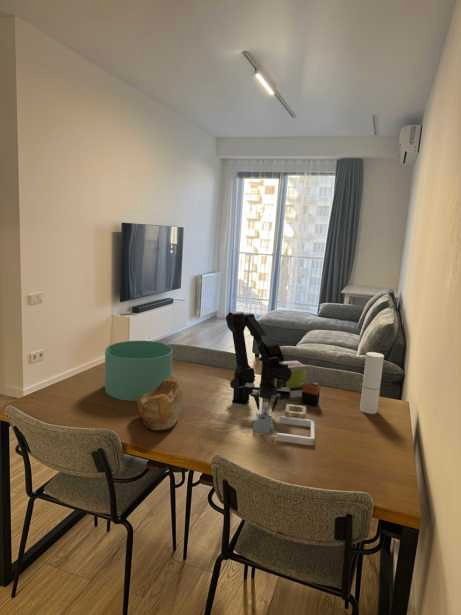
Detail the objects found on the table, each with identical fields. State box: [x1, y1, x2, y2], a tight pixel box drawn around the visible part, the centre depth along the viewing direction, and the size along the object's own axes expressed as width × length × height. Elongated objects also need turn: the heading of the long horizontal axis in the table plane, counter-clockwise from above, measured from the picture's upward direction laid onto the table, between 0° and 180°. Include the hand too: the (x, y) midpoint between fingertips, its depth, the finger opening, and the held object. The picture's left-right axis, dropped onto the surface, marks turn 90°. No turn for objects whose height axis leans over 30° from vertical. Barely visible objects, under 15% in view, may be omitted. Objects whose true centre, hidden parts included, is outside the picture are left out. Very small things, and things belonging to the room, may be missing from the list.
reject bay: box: [276, 415, 316, 447], centre depth 158 cm, size 13×16×2 cm
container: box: [104, 340, 174, 402], centre depth 191 cm, size 30×30×19 cm
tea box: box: [272, 360, 308, 400], centre depth 194 cm, size 15×10×15 cm, turn 108°
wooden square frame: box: [284, 403, 307, 419], centre depth 170 cm, size 8×8×4 cm
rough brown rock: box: [136, 375, 183, 431], centre depth 161 cm, size 23×17×15 cm
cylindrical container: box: [359, 351, 385, 415], centre depth 181 cm, size 7×7×25 cm
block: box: [252, 413, 273, 434], centre depth 159 cm, size 6×6×5 cm
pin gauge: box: [261, 398, 271, 416], centre depth 171 cm, size 3×3×8 cm
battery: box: [300, 380, 321, 408], centre depth 185 cm, size 4×7×10 cm, turn 61°
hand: (265, 410), depth 171 cm, fingers open, 5 cm apart
